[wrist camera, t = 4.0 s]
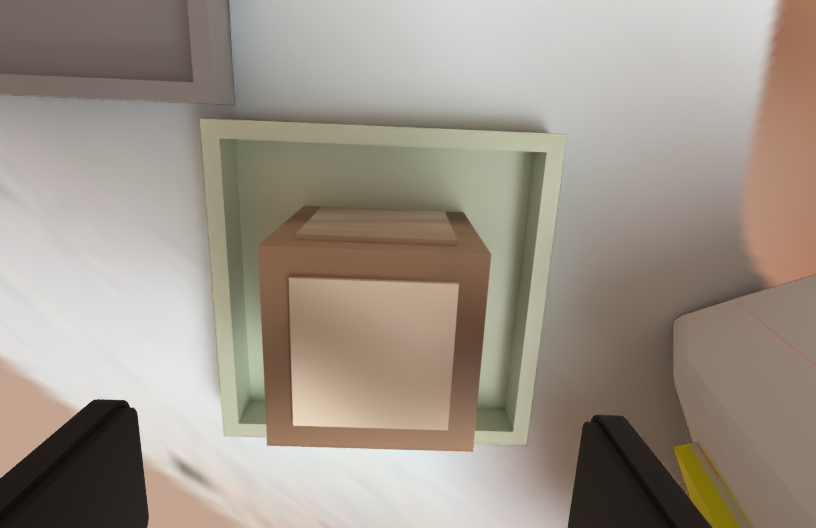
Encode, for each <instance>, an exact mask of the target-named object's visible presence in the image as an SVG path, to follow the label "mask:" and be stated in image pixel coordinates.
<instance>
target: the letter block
mask: <svg viewBox="0 0 816 528" xmlns="http://www.w3.org/2000/svg"><path fill="white" fill-rule="evenodd" d="M258 262H259V283H260V304H261V325H262V346H263V367H264V388H265V409H266V430H267V446H301V447H335V448H369V449H403V450H437V451H471V452H473V445H474V435H475V424H476V413H477V403H478V392H479V381H480V371H481V360H482V349H483V339H484V328H485V317H486V307H487V296H488V285H489V275H490V264H491V253H490V251H489V250H488V248H487V247H486V245H485V244H484V242H483V241H482V239H481V238H480V236H479V235H478V233H477V232H476V230H475V229H474V227H473V226H472V224H471V223H470V221H469V220H468V218H467V217H466V215H465V214H464V212H445V211H425V210H400V209H374V208H349V207H324V206H322V207H319V206H303V207H302V208H301V209H300V210H299V211H297V212H296V213H295V214H294V215H293V216H292V217H290V218H289V219H288V220H287V221H286V222H285V223H283V224H282V225H281V226H280V227H279V228H278V229H276V230H275V231H274V232H273V233H272V234H271V235H269V236H268V237H267V238H266V239H265V240H263V241H262V242H261V243H260V244H259V245H258Z"/></svg>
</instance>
